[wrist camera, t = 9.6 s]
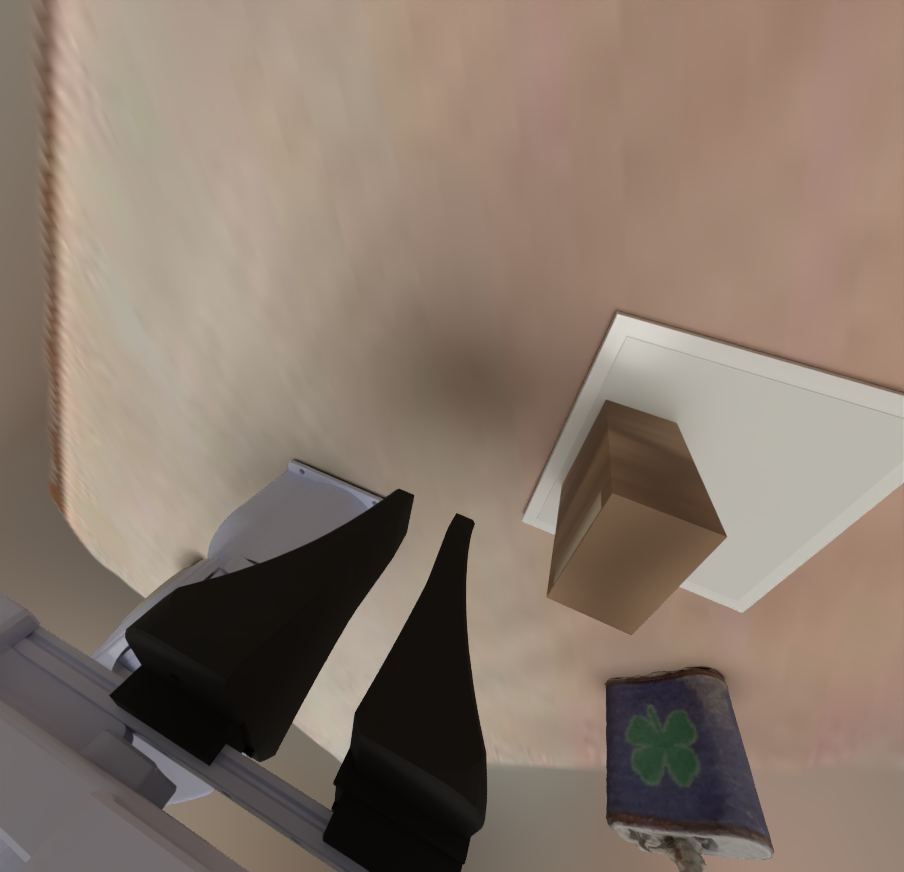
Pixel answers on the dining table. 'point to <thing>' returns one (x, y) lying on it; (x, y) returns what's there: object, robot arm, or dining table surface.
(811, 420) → the stone board
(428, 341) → the dining table surface
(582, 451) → the walnut block
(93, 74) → the dining table surface
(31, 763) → the robot arm
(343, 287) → the dining table surface
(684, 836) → the flask
